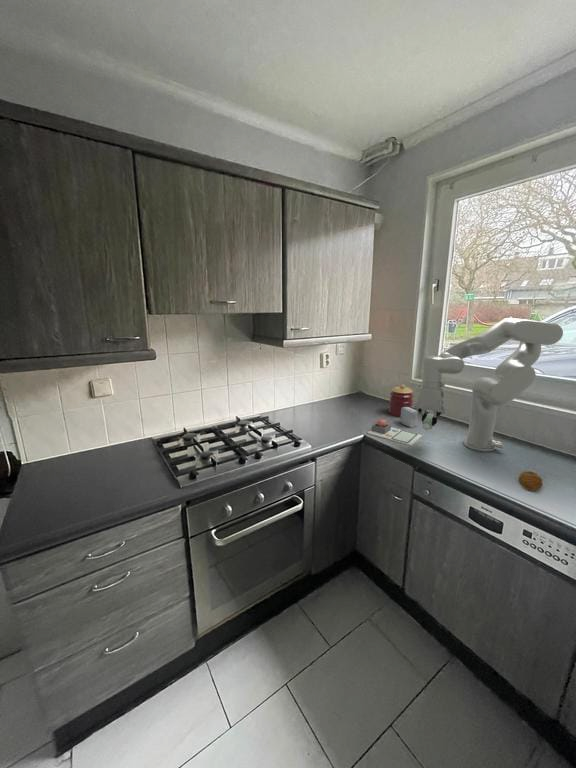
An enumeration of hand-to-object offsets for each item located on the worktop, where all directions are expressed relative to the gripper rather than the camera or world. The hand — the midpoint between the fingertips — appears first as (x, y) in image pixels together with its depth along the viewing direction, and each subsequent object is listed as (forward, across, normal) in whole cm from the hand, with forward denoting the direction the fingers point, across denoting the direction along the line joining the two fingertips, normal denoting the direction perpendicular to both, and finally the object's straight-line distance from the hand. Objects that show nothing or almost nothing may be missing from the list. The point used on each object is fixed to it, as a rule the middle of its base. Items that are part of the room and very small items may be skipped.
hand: (429, 423), depth 143 cm
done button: (+7, +23, -1) cm, 24 cm away
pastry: (+12, -39, +10) cm, 42 cm away
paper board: (+10, +16, -1) cm, 19 cm away
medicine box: (+11, +16, -19) cm, 27 cm away
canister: (+11, +26, -33) cm, 44 cm away
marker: (+1, 0, -1) cm, 1 cm away
